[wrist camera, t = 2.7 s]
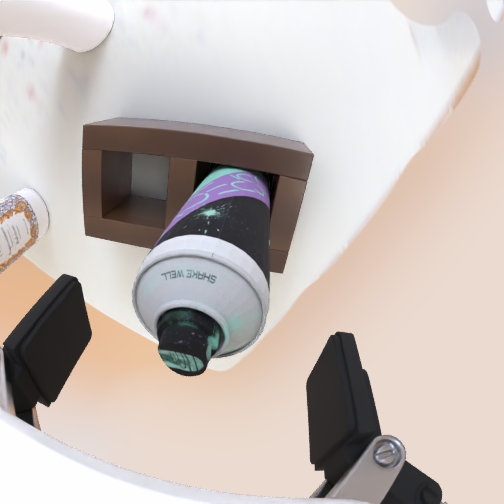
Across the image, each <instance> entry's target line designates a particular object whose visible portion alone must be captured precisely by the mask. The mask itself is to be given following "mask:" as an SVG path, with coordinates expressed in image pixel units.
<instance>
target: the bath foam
mask: <svg viewBox="0 0 504 504" xmlns="http://www.w3.org/2000/svg"><path fill="white" fill-rule="evenodd" d="M48 225H49V217H48V211H47V208H46V205H45V203H44V201H43V200H42V198H41V197H40V196H39V195H38V194H37V193H36V192H35V191H33V190H31V189H22V190H19V191H18V192H16V193H14V194H12V195H10V196H8V197H7V198H5V199H3V200H2V201H0V274H1V273H2V272H3V271H4V270H5V269H6V268H7V267H9V266H10V265H11V264H12V263H13V262H14V261H15V260H16V259H17V258H18V257H20V256H21V255H22V254H23V253H24V252H25V251H26V250H28V249H29V248H30V247H31V246H32V245H34V244H35V243H36V242H37V241H38V240H39V239H41V238H42V237H43V236H44V235H45V233H46V232H47V229H48Z"/></svg>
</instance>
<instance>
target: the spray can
mask: <svg viewBox="0 0 504 504" xmlns="http://www.w3.org/2000/svg"><path fill="white" fill-rule="evenodd" d="M269 284H270V183H269V177H268V174H267V172H262V171H257V170H251V169H246V168H240V167H235V166H229V165H223V164H217V165H216V166H215V167H214V168H213V169H212V171H211V172H210V173H209V174H208V175H207V177H206V178H205V179H204V180H203V182H202V183H201V184H200V185H199V187H198V188H197V189H196V191H195V192H194V193H193V194H192V196H191V197H190V198H189V199H188V201H187V202H186V203H185V205H184V206H183V207H182V209H181V210H180V211H179V213H178V214H177V215H176V217H175V218H174V219H173V221H172V222H171V223H170V225H169V226H168V227H167V229H166V230H165V231H164V233H163V234H162V236H161V237H160V238H159V240H158V241H157V243H156V244H155V245H154V247H153V248H152V250H151V251H150V253H149V254H148V255H147V257H146V258H145V260H144V261H143V263H142V265H141V267H140V269H139V273H138V276H137V278H136V280H135V282H134V285H133V290H132V301H133V306H134V309H135V312H136V314H137V316H138V318H139V320H140V322H141V323H142V325H143V326H144V327H145V329H146V330H147V331H148V332H149V333H150V334H151V335H152V336H153V337H154V338H155V339H157V340H158V341H159V346H158V351H159V354H160V356H161V358H162V360H163V361H164V362H165V363H166V365H167V366H168V367H169V368H170V369H171V370H172V371H174V372H176V373H178V374H180V375H184V376H196V375H200V374H202V373H203V372H204V371H205V370H206V367H207V365H208V362H209V361H210V359H211V358H221V357H227V356H231V355H234V354H237V353H240V352H242V351H243V350H245V349H247V348H248V347H250V346H251V345H252V344H253V343H254V342H255V341H257V339H258V338H259V336H260V335H261V333H262V332H263V329H264V326H265V323H266V316H267V313H268V310H269Z"/></svg>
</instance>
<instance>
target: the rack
mask: <svg viewBox="0 0 504 504" xmlns="http://www.w3.org/2000/svg"><path fill="white" fill-rule="evenodd" d="M82 148H83V149H82V193H83V212H84V224H85V235H86V236H91V237H96V238H101V239H105V240H110V241H115V242H120V243H125V244H130V245H135V246H140V247H145V248H150V249H152V248H153V247H154V245H155V244H156V243H157V241H158V240H159V238H160V237H161V236H162V234H163V233H164V231H165V230H166V229H167V227H168V226H169V225H170V223H171V222H172V221H173V219H174V218H175V217H176V215H177V214H178V213H179V211H180V210H181V209H182V207H183V206H184V205H185V203H186V202H187V201H188V199H189V198H190V197H191V196H192V194H193V193H194V192H195V191H196V189H197V188H198V187H199V185H200V184H201V183H202V182H203V180H204V179H205V178H206V177H207V175H208V174H209V170H210V163H217V164H223V165H229V166H235V167H240V168H246V169H251V170H257V171H262V172H267V173H272V174H274V177H273V182H272V186H271V191H270V272H276V273H283V270H284V267H285V263H286V260H287V256H288V252H289V249H290V245H291V241H292V238H293V234H294V230H295V227H296V223H297V219H298V215H299V212H300V208H301V204H302V200H303V196H304V192H305V189H306V185H307V180H308V177H309V173H310V169H311V165H312V161H313V157H314V154H313V153H312V152H311V151H310V150H309V148H308V147H307V146H306V145H305V144H304V143H302V142H298V141H294V140H289V139H285V138H280V137H275V136H270V135H265V134H260V133H254V132H249V131H243V130H237V129H231V128H224V127H217V126H210V125H202V124H194V123H185V122H176V121H165V120H152V119H136V118H114V119H109V120H104V121H99V122H94V123H90V124H85V125H83V144H82ZM133 153H141V154H150V155H159V156H167V157H170V166H169V177H168V189H167V201H164V200H158V199H152V198H145V197H139V196H132V195H131V171H132V154H133Z"/></svg>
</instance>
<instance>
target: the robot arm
mask: <svg viewBox="0 0 504 504" xmlns="http://www.w3.org/2000/svg"><path fill="white" fill-rule="evenodd" d="M0 37H1V36H0ZM91 336H92V331H91V328H90V323H89V319H88V315H87V311H86V306H85V301H84V297H83V292H82V287H81V283H80V282H78V279H77V278H76V277H73V276H70V275H66V274H63V275H61V276H60V277H59V278H58V279H57V280H56V282H55V283H54V284H53V285H52V286H51V287H50V288H49V289H48V290H47V291H46V292H45V294H44V295H43V296H42V297H41V298H40V299H39V300H38V302H37V303H36V304H35V305H34V306H33V307H32V308H31V309H30V311H29V312H28V313H27V314H26V315H25V317H24V318H23V319H22V320H21V321H20V323H19V324H18V325H17V326H16V328H15V329H14V330H13V331H12V333H11V334H10V335H9V336H8V338H7V339H6V340H5V342H4V343H3V345H4V347H3V349H2V348H1V347H0V504H447V503H446V502H444V503H442V502H441V500H442V490H441V488H440V486H439V484H438V483H437V482H435V481H434V480H433V479H431V478H430V477H428V476H427V475H426V474H424V473H422V472H421V471H419V470H418V469H417V468H415V467H414V466H413V465H411V464H410V463H408V462H407V461H406V460H405V459H406V451H405V447H404V445H403V444H402V442H401V441H400V440H398V439H397V438H396V437H393V436H391V435H381V429H380V425H379V420H378V416H377V411H376V406H375V402H374V398H373V394H372V389H371V385H370V381H369V377H368V374H367V372H366V371H365V370H364V369H362V365H361V361H360V357H359V353H358V349H357V345H356V342H355V338H354V335H353V334H352V333H345V332H336V333H335V335H331V336H330V337H329V339H328V341H327V344H326V345H325V347H324V349H323V351H322V353H321V355H320V357H319V359H318V361H317V363H316V364H315V366H314V368H313V370H312V372H311V374H310V376H309V377H308V380H307V385H306V390H307V406H308V423H309V443H310V462H311V464H315V471H320V470H321V471H322V470H324V474H325V481H324V482H323V483H322V484H321V485H320V486H319V488H317V490H316V491H315V492H314V493H313V494H312V495H311V496H310V497H309V498H283V497H282V498H281V497H265V496H252V495H242V494H233V493H226V492H219V491H213V490H207V489H201V488H196V487H191V486H186V485H182V484H177V483H173V482H169V481H165V480H161V479H158V478H154V477H150V476H147V475H144V474H140V473H137V472H134V471H131V470H128V469H125V468H122V467H119V466H117V465H114V464H111V463H109V462H106V461H103V460H101V459H98V458H96V457H93V456H91V455H89V454H86V453H84V452H82V451H80V450H77V449H75V448H73V447H71V446H69V445H67V444H65V443H63V442H61V441H59V440H57V439H55V438H53V437H51V436H49V435H47V434H45V433H44V432H42V431H41V429H40V425H39V421H38V416H37V412H36V407H35V406H36V404H37V402H39V403H42V404H43V405H45V406H47V407H49V406H50V404H51V402H55V400H56V399H57V397H58V395H59V393H60V391H61V390H62V388H63V386H64V384H65V382H66V381H67V379H68V377H69V375H70V373H71V372H72V370H73V368H74V366H75V365H76V363H77V361H78V360H79V358H80V356H81V354H82V353H83V351H84V350H85V347H86V346H87V345H88V343H89V341H90V339H91Z"/></svg>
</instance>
